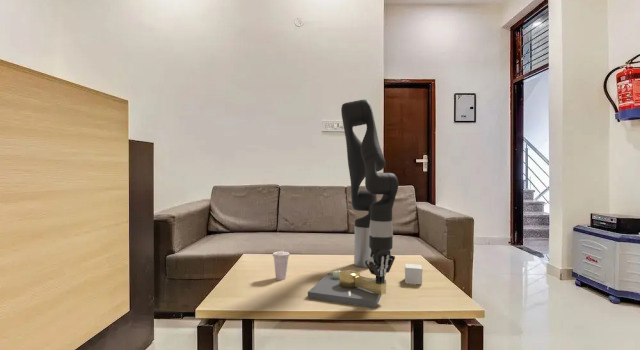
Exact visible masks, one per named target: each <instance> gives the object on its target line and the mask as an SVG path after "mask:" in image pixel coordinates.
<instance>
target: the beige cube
mask: <svg viewBox="0 0 640 350" xmlns="http://www.w3.org/2000/svg"><path fill="white" fill-rule="evenodd" d="M404 283H407V285H416V284H422V285H423V267H422V264H415V263H404ZM408 283H409V284H408Z"/></svg>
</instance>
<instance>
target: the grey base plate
mask: <svg viewBox="0 0 640 350" xmlns="http://www.w3.org/2000/svg"><path fill="white" fill-rule="evenodd" d="M341 271H342V270H333V271H332V272H331V273H330V272H329V273H327V274H326V275H325V276H324V277H323V278H322V279H320V280H319V281H318V282H317V283H316V284H314V286H313V287H311V288H310V290H308V291H307V299H311V300H312V299H313V300H319V301H326V302H335V303H338V304H339V303H340V304H347V305H353V306H354V305H355V306H361V307H367V308H373V309H375V308H377V305H378V303H379V302H380V299H381V298H382V295H379V294H377V293H374V292H371V291H368V290H365V289H362V288H359V287H357V288H344V287H341V286H340V285H339V272H341ZM366 278H369V279H372V280H376V277H375V278H373V277H366ZM385 284H386V285H387V279H385Z"/></svg>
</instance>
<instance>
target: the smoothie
mask: <svg viewBox="0 0 640 350" xmlns="http://www.w3.org/2000/svg"><path fill="white" fill-rule="evenodd" d="M272 257H273V261H274V262H273V263H274V273H275V279H276V281H277V280H279V281H282V280H286V278H287V272H288V264H289V263H288V262H289V257H290V252H288V251H284V241H281V250H279V251H275V252H273V253H272Z"/></svg>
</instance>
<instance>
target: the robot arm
mask: <svg viewBox="0 0 640 350" xmlns="http://www.w3.org/2000/svg"><path fill="white" fill-rule="evenodd" d="M341 119H342V125H343V130H344V136H345V137H344V138H345V143H346V154H347V155H346V156H347V166H348V173H349V179H350V195H351V199H350V200H351V207H352V209H353V210H354V211H357V212H358V211H359V212H360V211H361V212H368V213H367V214H366V215H364V216H363V217H362V216H361V217H358V218H356V219H355V220H354V240H353V241H354V246H353V247H354V249H353V250H354V251H353V252H354V253H353V254H354V255H353V257H354V258H353V261H354V263H353V264H354V266H355V267H359V268H367V269H368V270H369V272H370V274H371V275H374V276H375V279H376V281H379V282H382V283H385V280H386V279H385V276H386V274H387V273H390V271H391V268H392V266H393V264H394V261H395V259H396V256H395V255H392V254H391V250H392V249H393V242H394V241H393V238H394V235H393V234H394V231H393V230H394V226H393V209H394V208H393V207H394V204H395V200H396V196H397V193H398V190H399V179H398V176H396V174H395V173H392V172H380V171H382V170H384V168H385V167H386V165H387V164H386V160H385V155H384V153H383V151H382V149H381V145H380V141H379V136H378V132H377V131H378V130H377V126H376V121H375V117H374V112H373V108H372V106H371V103H370V101H369V100H367V99H360V100H359V99H357V100H353V101H348V102H344V103H342V105H341ZM363 125H366V129H365V134H364V137H363V139H362V141H361V140H360V139H359V138H358V136H357V135H356V134H355V132H354V127H358V126H363ZM364 180H365V181H364ZM363 181H364V185H365V186H364V187H365V189H360V186H361V185H362V182H363ZM377 195H382V196H381V199H379V200H378V199H377Z"/></svg>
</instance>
